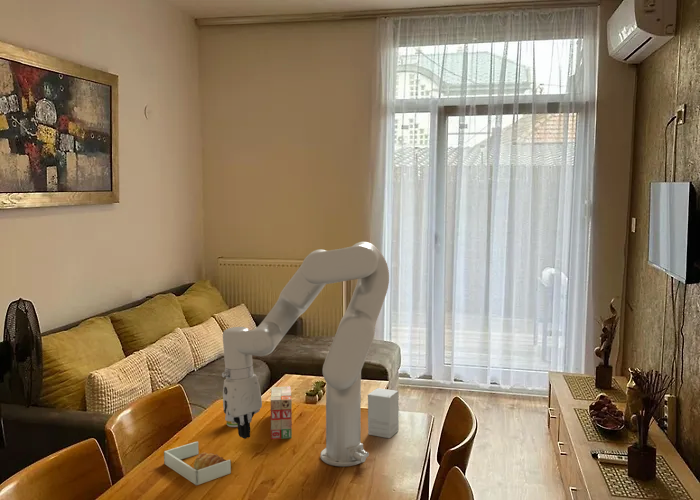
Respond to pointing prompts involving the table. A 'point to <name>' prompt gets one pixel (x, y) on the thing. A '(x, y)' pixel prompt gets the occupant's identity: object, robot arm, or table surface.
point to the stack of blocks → (281, 413)
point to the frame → (195, 476)
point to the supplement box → (383, 413)
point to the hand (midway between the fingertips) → (244, 436)
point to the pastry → (207, 460)
